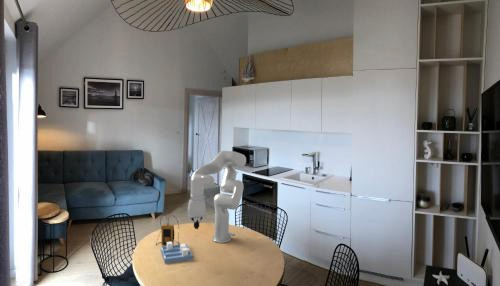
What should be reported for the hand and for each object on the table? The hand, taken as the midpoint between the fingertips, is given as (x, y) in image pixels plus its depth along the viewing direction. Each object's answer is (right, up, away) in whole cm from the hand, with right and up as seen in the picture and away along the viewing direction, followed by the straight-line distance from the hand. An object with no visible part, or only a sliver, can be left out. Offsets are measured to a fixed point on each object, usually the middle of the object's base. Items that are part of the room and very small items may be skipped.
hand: (196, 228), depth 192 cm
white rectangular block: (-9, -15, +4) cm, 18 cm away
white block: (-18, -15, +7) cm, 24 cm away
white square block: (-6, -16, -2) cm, 17 cm away
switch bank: (-13, -17, +2) cm, 21 cm away
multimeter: (-21, -15, +21) cm, 33 cm away
